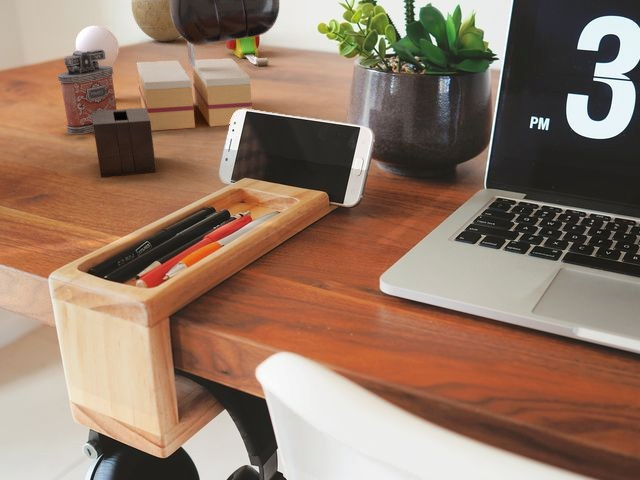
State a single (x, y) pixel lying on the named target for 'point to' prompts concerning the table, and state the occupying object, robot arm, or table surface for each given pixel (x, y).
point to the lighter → (86, 89)
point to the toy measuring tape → (247, 49)
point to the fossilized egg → (155, 19)
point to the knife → (191, 54)
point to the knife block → (124, 142)
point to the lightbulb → (99, 43)
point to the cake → (176, 93)
